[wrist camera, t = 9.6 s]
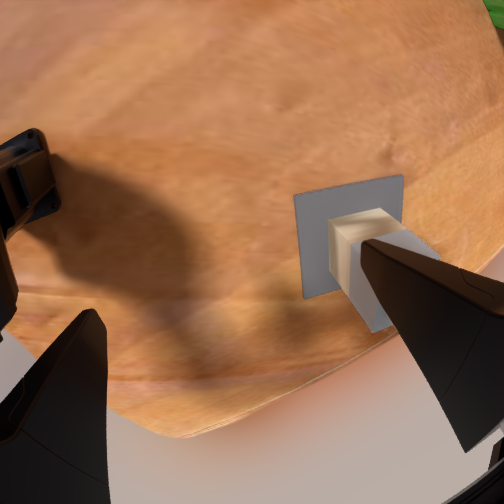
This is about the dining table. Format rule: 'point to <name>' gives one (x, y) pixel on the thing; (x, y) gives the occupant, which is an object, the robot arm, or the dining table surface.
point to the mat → (332, 206)
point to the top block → (362, 289)
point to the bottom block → (355, 238)
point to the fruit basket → (496, 11)
